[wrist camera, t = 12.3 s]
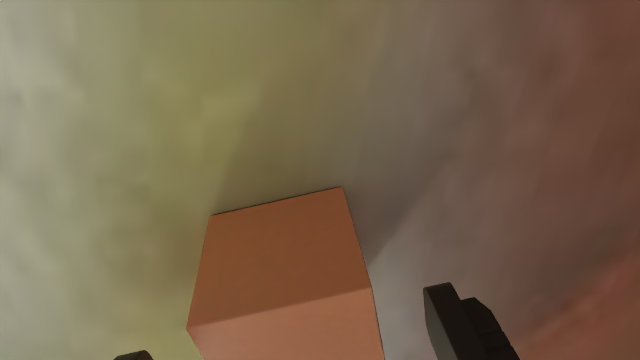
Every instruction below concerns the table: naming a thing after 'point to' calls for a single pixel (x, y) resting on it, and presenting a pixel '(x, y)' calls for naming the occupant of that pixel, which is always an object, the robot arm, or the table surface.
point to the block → (285, 285)
